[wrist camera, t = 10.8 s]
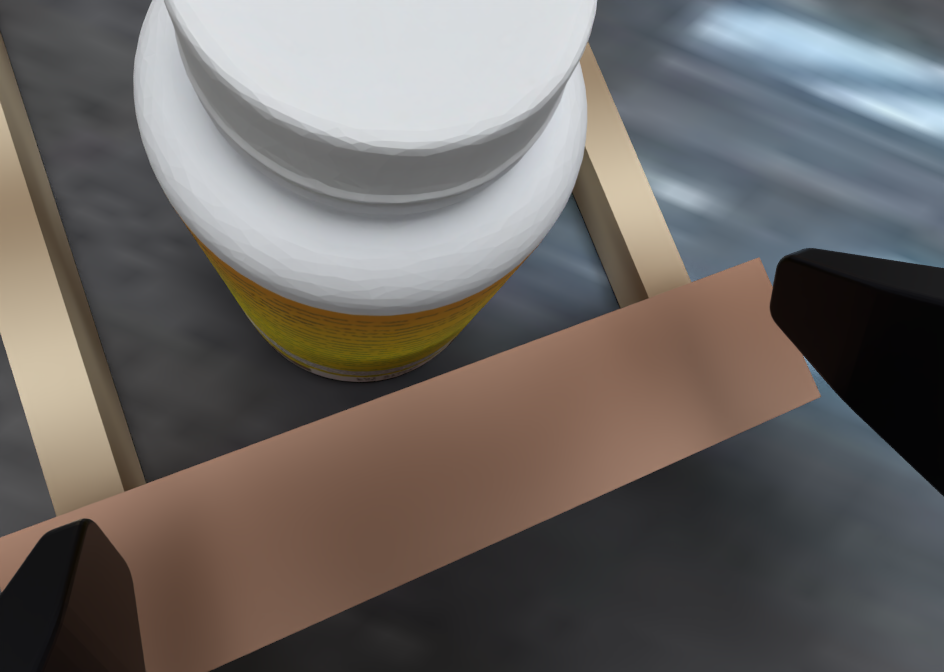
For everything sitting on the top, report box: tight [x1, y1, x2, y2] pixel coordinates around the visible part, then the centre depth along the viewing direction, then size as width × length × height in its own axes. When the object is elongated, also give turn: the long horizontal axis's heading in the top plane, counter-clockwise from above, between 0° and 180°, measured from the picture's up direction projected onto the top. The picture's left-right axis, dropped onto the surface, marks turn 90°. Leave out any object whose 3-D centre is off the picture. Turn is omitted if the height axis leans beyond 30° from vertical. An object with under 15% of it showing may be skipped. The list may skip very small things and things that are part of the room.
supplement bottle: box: [133, 0, 597, 382], centre depth 10 cm, size 6×6×10 cm
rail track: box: [0, 32, 821, 672], centre depth 14 cm, size 18×14×4 cm
